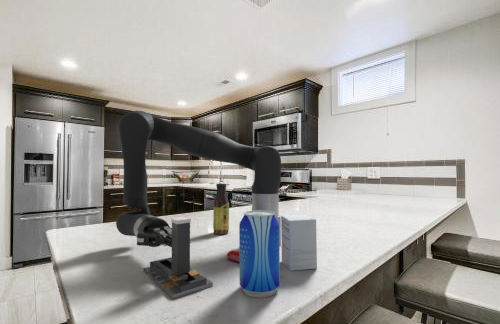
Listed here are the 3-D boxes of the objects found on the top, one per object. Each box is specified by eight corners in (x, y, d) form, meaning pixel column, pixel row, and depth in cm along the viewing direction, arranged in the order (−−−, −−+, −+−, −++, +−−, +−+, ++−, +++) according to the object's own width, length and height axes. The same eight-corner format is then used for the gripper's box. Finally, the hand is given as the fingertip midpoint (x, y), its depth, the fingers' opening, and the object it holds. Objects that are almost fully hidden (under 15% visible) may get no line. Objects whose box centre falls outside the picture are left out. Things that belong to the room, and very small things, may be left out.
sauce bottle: (226, 235, 99) (226, 183, 100) (210, 234, 101) (211, 183, 101) (230, 231, 106) (230, 183, 107) (216, 230, 107) (216, 183, 108)
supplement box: (306, 259, 72) (305, 214, 73) (317, 269, 65) (317, 218, 65) (280, 261, 71) (280, 215, 71) (289, 271, 64) (289, 219, 64)
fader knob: (170, 276, 58) (170, 218, 59) (183, 272, 60) (183, 216, 61) (177, 281, 55) (178, 220, 56) (191, 277, 57) (191, 219, 58)
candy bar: (281, 269, 66) (281, 257, 66) (274, 274, 63) (273, 261, 63) (232, 257, 75) (232, 246, 75) (224, 260, 72) (224, 250, 72)
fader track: (143, 271, 64) (143, 262, 64) (177, 263, 70) (177, 255, 70) (172, 299, 50) (173, 288, 50) (212, 285, 56) (212, 275, 56)
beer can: (238, 281, 58) (238, 210, 58) (275, 280, 58) (275, 209, 59) (240, 300, 49) (240, 216, 50) (283, 298, 50) (282, 215, 51)
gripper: (173, 239, 76) (202, 254, 63) (125, 247, 68) (146, 266, 55) (173, 214, 77) (202, 223, 63) (126, 219, 68) (147, 230, 55)
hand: (176, 243), depth 59 cm, fingers closed
